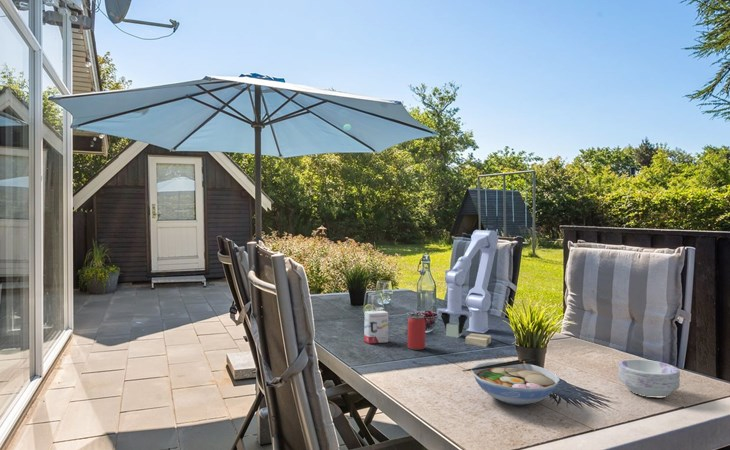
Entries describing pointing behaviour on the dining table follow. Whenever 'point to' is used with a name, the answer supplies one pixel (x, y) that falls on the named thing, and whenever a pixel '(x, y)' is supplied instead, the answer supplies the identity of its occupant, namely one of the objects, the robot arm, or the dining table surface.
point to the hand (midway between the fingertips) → (453, 332)
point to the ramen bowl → (515, 381)
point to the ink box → (376, 327)
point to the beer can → (416, 332)
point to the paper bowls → (648, 377)
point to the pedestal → (478, 339)
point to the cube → (452, 329)
